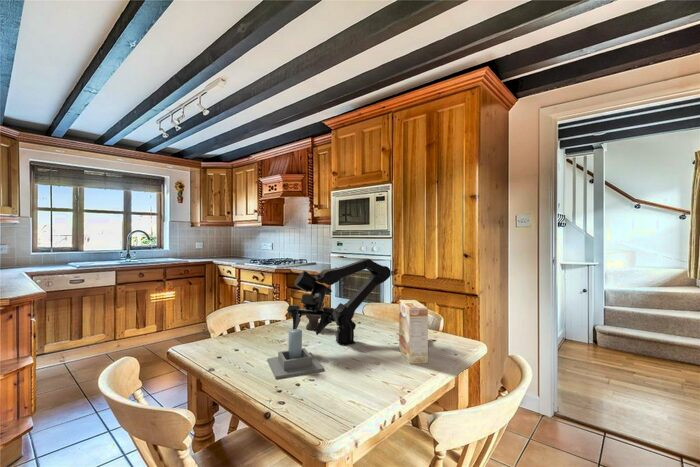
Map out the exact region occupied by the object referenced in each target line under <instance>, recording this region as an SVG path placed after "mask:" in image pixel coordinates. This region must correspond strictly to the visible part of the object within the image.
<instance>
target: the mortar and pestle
mask: <svg viewBox="0 0 700 467" xmlns="http://www.w3.org/2000/svg"><path fill="white" fill-rule="evenodd" d="M323 308H324V305H323V306H322V307H321V310H320V311H323ZM304 309H306V308H305V307H304ZM305 318H306V319H307V320H308V323H307V324H305V325H306V326H305V329H306V330H309V331H312V330H313V331H315V330H316V331H317V328H318V325H319V322H320V319H321V316H313V315H305Z"/></svg>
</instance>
